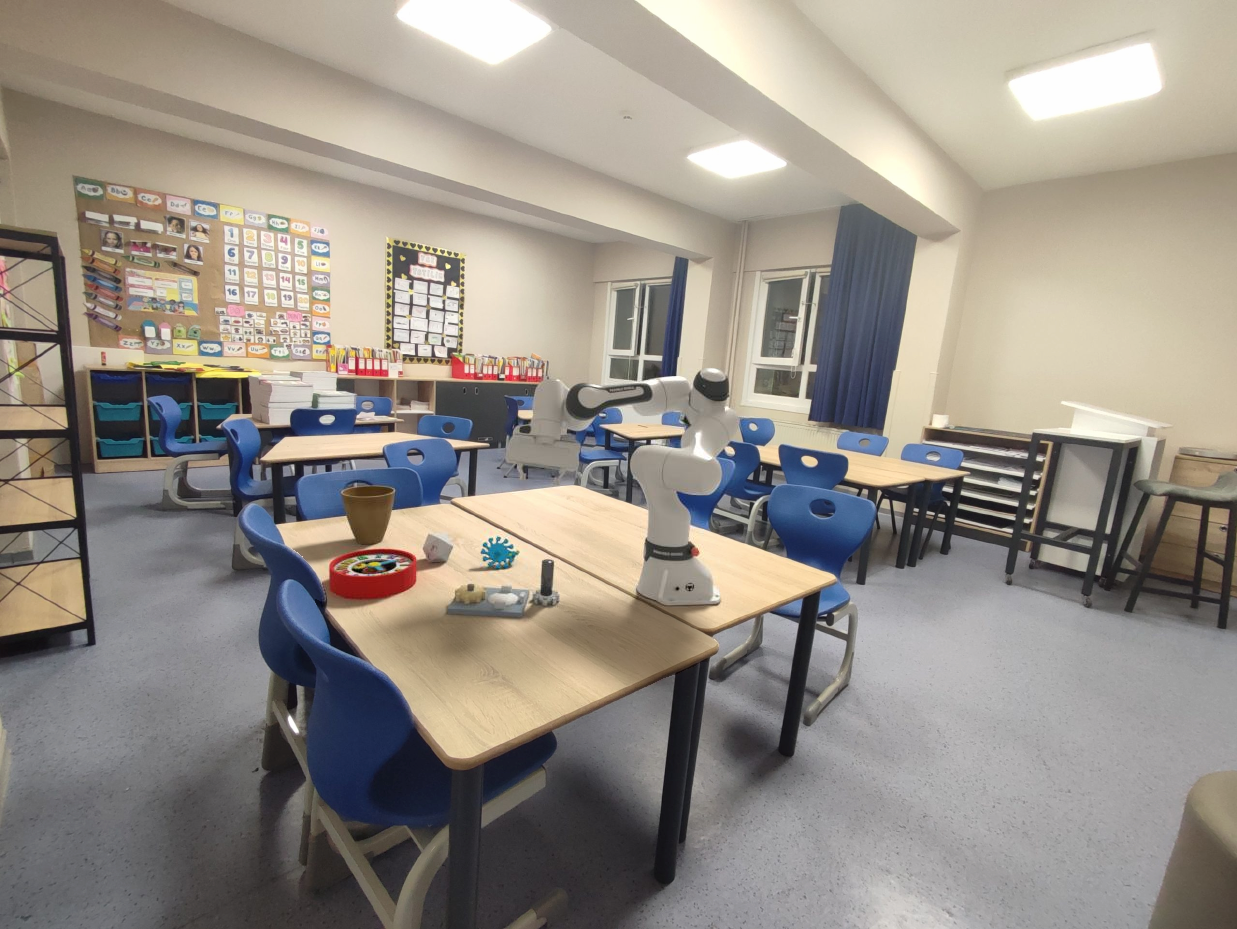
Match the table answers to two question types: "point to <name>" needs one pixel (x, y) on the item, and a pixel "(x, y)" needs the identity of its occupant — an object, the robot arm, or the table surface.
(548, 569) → the gear
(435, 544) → the die
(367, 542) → the plant pot
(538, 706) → the table surface
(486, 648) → the table surface
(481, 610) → the gear board
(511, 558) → the virus model
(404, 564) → the toy clock
